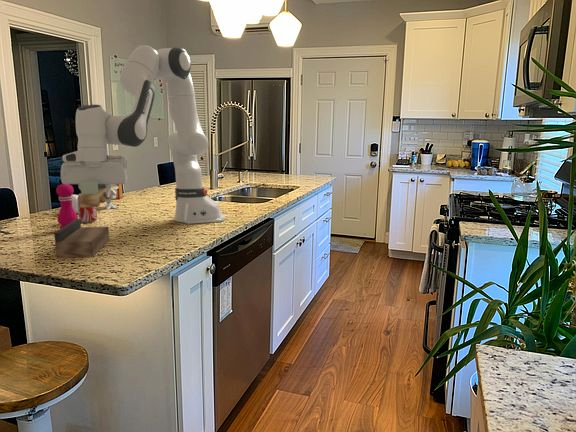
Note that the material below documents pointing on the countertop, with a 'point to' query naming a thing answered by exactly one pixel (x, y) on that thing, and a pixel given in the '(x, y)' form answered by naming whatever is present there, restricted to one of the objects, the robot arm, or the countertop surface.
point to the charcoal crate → (102, 186)
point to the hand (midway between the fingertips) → (96, 197)
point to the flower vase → (75, 201)
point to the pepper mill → (66, 205)
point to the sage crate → (89, 186)
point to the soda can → (86, 213)
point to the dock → (80, 240)
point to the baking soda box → (118, 192)
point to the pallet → (93, 198)
